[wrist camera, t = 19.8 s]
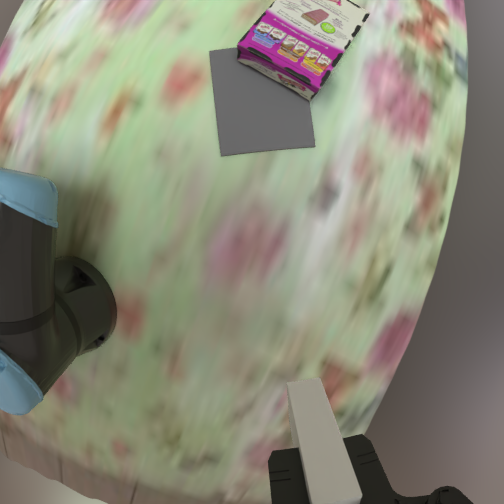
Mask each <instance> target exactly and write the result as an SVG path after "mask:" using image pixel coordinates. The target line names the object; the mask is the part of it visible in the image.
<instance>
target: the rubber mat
mask: <svg viewBox="0 0 504 504" xmlns="http://www.w3.org/2000/svg"><path fill="white" fill-rule="evenodd" d="M209 53H210V63H211V72H212V81H213V91H214V100H215V109H216V117H217V126H218V135H219V143H220V151H221V156H228V155H235V154H244V153H252V152H261V151H271V150H282V149H294V148H307V147H315V139H314V131H313V124H312V117H311V110H310V104H309V100H307V99H306V98H304V97H303V96H301V95H299V94H298V93H296V92H294V91H293V90H291V89H289V88H287V87H286V86H284V85H282V84H281V83H279V82H277V81H275V80H273V79H272V78H270V77H268V76H266V75H265V74H263V73H261V72H259V71H257V70H255V69H253V68H251V67H249V66H247V65H245V64H243V63H241V62H239V61H238V60H237V48H229V49H221V50H214V51H209Z"/></svg>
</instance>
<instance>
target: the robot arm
mask: <svg viewBox="0 0 504 504" xmlns="http://www.w3.org/2000/svg"><path fill="white" fill-rule="evenodd" d="M57 206H58V191H57V188H56V186H55V184H54V183H53V182H52V181H51V180H49V179H48V178H45V177H41V176H38V175H33V174H29V173H25V172H20V171H15V170H10V169H5V168H0V409H1V410H3V411H5V412H7V413H10V414H13V415H24V414H27V413H29V412H30V411H31V410H32V409H33V408H34V407H35V406H36V405H37V404H38V403H39V402H41V401H42V400H43V398H44V395H45V394H46V393H47V392H48V390H49V389H50V388H51V387H52V385H53V384H54V383H55V382H56V381H57V379H58V378H59V377H60V376H61V375H62V373H63V372H64V371H65V370H66V369H67V367H68V366H69V365H70V364H71V363H72V361H73V360H74V359H75V358H76V357H77V356H79V355H82V354H85V353H87V352H90V351H92V350H95V349H97V348H98V347H100V346H101V345H102V344H103V343H104V342H105V341H106V340H107V339H108V337H109V336H110V335H111V333H112V332H113V330H114V327H115V323H116V315H117V313H116V304H115V300H114V297H113V294H112V291H111V289H110V287H109V285H108V284H107V282H106V280H105V279H104V278H103V276H102V275H101V274H100V273H99V272H98V271H97V270H96V269H95V268H94V267H93V266H92V265H90V264H89V263H87V262H86V261H84V260H82V259H79V258H76V257H70V256H65V257H60V258H57V259H55V247H56V231H57V228H58V222H57ZM287 393H288V408H289V423H290V429H291V434H292V439H293V445H294V448H291V449H284V450H276V451H272V453H271V456H270V458H269V460H268V467H269V477H270V488H271V498H272V504H473V503H472V502H471V501H470V500H469V499H468V498H467V497H466V496H465V495H463V493H462V492H461V491H460V490H458V489H456V488H455V487H451V486H445V487H440V488H438V489H436V490H435V491H434V492H433V493H431V495H426V496H418V497H405V496H401V495H399V494H397V493H396V492H395V491H393V489H392V487H391V485H390V483H389V481H388V479H387V476H386V474H385V472H384V470H383V467H382V465H381V463H380V461H379V459H378V456H377V454H376V453H375V450H374V447H373V445H372V443H371V441H370V440H369V439H367V438H366V437H365V436H364V435H363V434H359V435H355V436H351V437H347V438H342V436H341V433H340V431H339V428H338V425H337V423H336V420H335V417H334V414H333V412H332V409H331V406H330V404H329V401H328V398H327V396H326V393H325V390H324V387H323V385H322V382H321V379H320V377H319V378H313V379H307V380H301V381H294V382H287Z"/></svg>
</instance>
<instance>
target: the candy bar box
mask: <svg viewBox="0 0 504 504" xmlns="http://www.w3.org/2000/svg"><path fill="white" fill-rule="evenodd" d="M369 15H370V13H369V12H367V11H366V10H364V9H363V8H361V7H359V6H358V5H356V4H354V3H353V2H351V1H349V0H275V1H274V2H273V3H272V5H271V6H270V7H269V8H268V9H267V10H266V11H265V12H264V13H263V14H262V16H261V17H260V18H259V19H258V20H257V21H256V22H255V23H254V25H253V26H252V27H251V28H250V29H249V30H248V31H247V33H246V34H245V35H244V36H243V37H242V39H241V40H240V41H239V42H238V44H237V60H238V61H239V62H241V63H243V64H245V65H247V66H249V67H251V68H253V69H255V70H257V71H259V72H261V73H263V74H265V75H266V76H268V77H270V78H272V79H273V80H275V81H277V82H279V83H281V84H282V85H284V86H286V87H287V88H289V89H291V90H293V91H294V92H296V93H298V94H299V95H301V96H303V97H304V98H306V99H307V100H309V101H311V100H312V99H313V98H314V96H315V95H316V94H317V92H318V91H319V90H320V88H321V87H322V86H323V84H324V83H325V81H326V80H327V78H328V77H329V75H330V74H331V72H332V71H333V69H334V67H335V66H336V64H337V63H338V61H339V60H340V58H341V57H342V55H343V54H344V52H345V51H346V49H347V48H348V46H349V45H350V43H351V42H352V40H353V39H354V37H355V36H356V34H357V33H358V31H359V30H360V28H361V27H362V25H363V24H364V22H365V21H366V19H367V18H368V16H369Z"/></svg>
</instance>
